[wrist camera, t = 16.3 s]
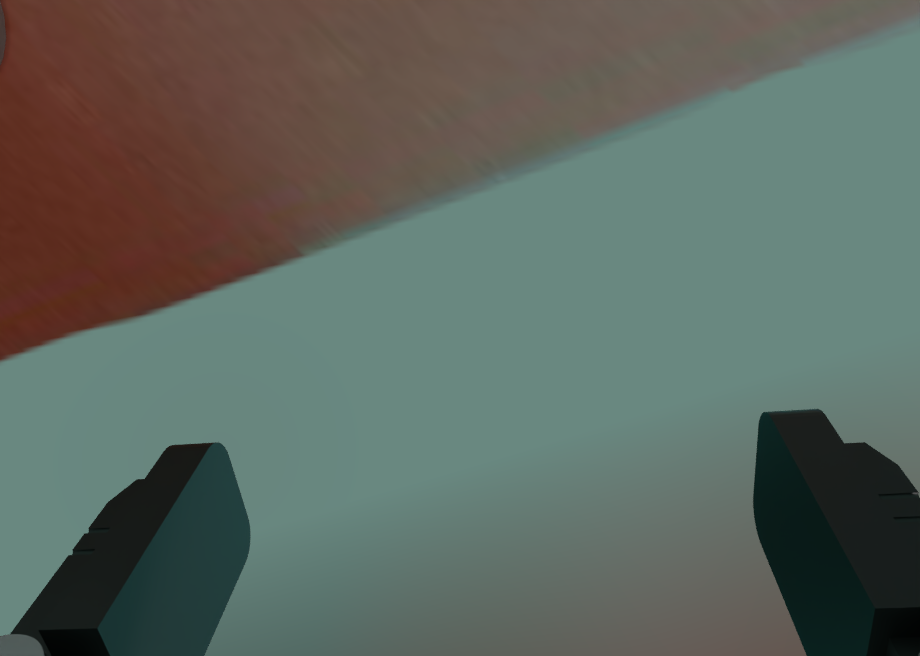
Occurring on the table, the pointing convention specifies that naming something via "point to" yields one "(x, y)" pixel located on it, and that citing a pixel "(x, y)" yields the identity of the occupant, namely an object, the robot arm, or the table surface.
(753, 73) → the table surface
